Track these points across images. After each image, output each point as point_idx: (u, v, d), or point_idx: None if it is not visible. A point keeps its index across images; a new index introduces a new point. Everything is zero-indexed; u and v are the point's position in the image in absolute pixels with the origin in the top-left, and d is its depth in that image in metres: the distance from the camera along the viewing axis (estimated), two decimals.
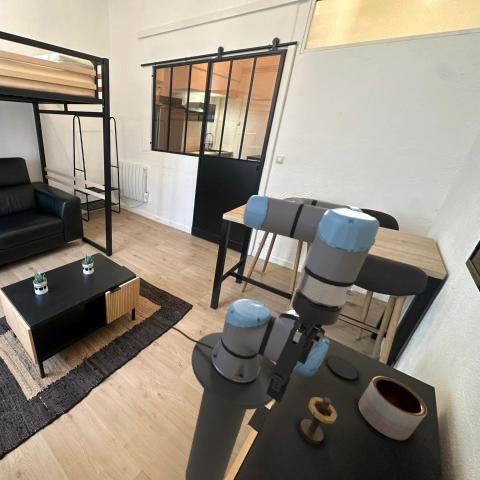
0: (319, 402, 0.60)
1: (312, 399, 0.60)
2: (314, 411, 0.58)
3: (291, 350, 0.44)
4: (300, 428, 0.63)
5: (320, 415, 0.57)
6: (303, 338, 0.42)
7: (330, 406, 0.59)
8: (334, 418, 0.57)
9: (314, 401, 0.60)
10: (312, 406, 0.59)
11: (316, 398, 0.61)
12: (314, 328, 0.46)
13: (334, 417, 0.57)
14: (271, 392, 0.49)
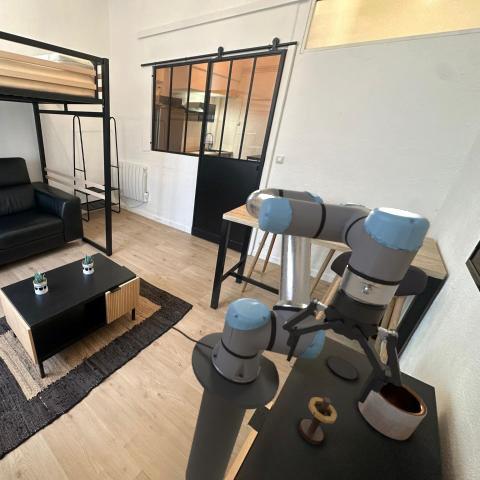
0: (319, 402, 0.60)
1: (312, 399, 0.60)
2: (314, 411, 0.58)
3: (303, 310, 0.53)
4: (300, 428, 0.63)
5: (320, 415, 0.57)
6: None
7: (330, 406, 0.59)
8: (334, 418, 0.57)
9: (314, 401, 0.60)
10: (312, 406, 0.59)
11: (316, 398, 0.61)
12: (339, 319, 0.48)
13: (334, 417, 0.57)
14: None
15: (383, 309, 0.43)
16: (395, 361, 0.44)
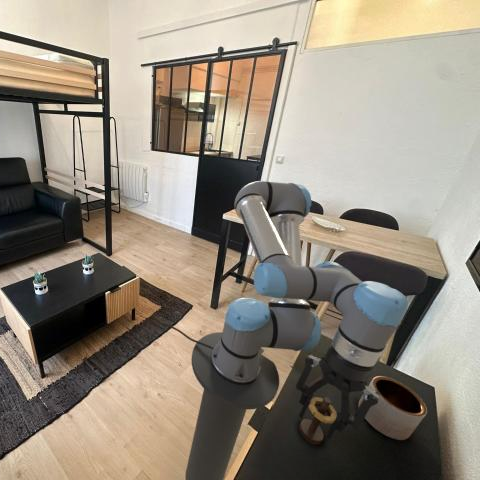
0: (319, 402, 0.60)
1: (312, 399, 0.60)
2: (314, 411, 0.58)
3: None
4: (300, 428, 0.63)
5: (320, 415, 0.57)
6: None
7: (330, 406, 0.59)
8: (334, 418, 0.57)
9: (314, 401, 0.60)
10: (312, 406, 0.59)
11: (316, 398, 0.61)
12: (331, 372, 0.54)
13: (334, 417, 0.57)
14: None
15: (368, 370, 0.49)
16: (364, 414, 0.51)
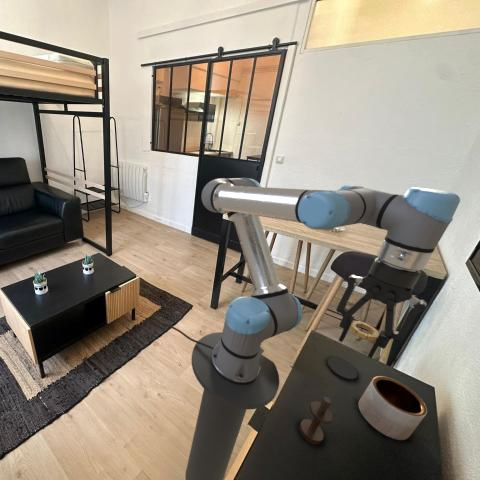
0: (360, 325, 0.61)
1: (353, 322, 0.62)
2: (356, 330, 0.59)
3: None
4: (300, 428, 0.63)
5: (362, 333, 0.58)
6: (348, 278, 0.59)
7: (371, 327, 0.60)
8: (377, 336, 0.58)
9: (355, 323, 0.61)
10: (354, 326, 0.60)
11: (357, 321, 0.62)
12: (376, 285, 0.55)
13: (377, 335, 0.58)
14: None
15: (416, 275, 0.50)
16: (410, 323, 0.52)
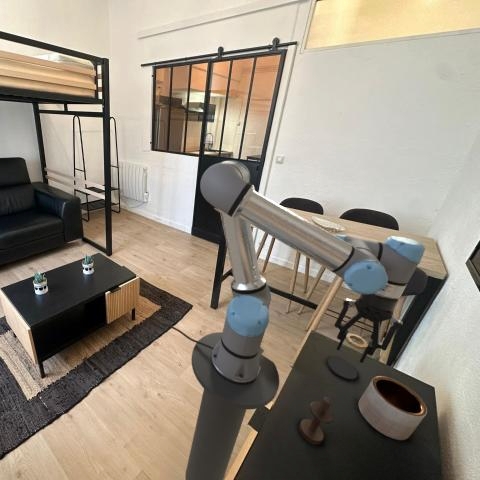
0: (353, 336, 0.78)
1: (347, 334, 0.78)
2: (350, 341, 0.75)
3: (342, 309, 0.77)
4: (300, 428, 0.63)
5: (355, 344, 0.75)
6: (343, 301, 0.75)
7: (361, 338, 0.77)
8: (366, 345, 0.74)
9: (349, 335, 0.78)
10: (348, 338, 0.76)
11: (350, 334, 0.78)
12: (365, 308, 0.72)
13: (366, 345, 0.74)
14: None
15: (395, 301, 0.66)
16: (391, 337, 0.69)
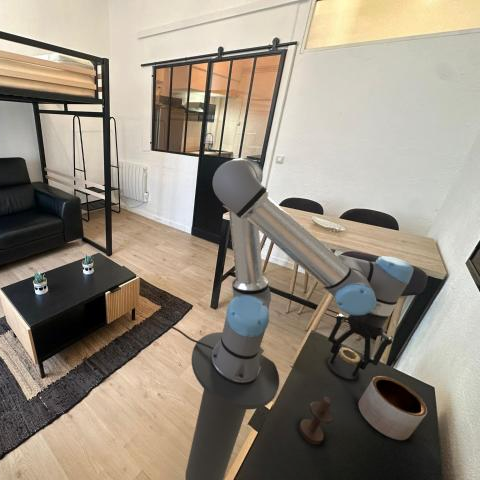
0: (346, 350, 0.80)
1: (340, 348, 0.80)
2: (343, 356, 0.78)
3: (335, 324, 0.79)
4: (300, 428, 0.63)
5: (348, 358, 0.77)
6: None
7: (354, 353, 0.79)
8: (358, 360, 0.77)
9: (342, 350, 0.80)
10: (341, 352, 0.79)
11: (343, 348, 0.81)
12: (357, 324, 0.74)
13: (358, 359, 0.77)
14: None
15: (385, 319, 0.68)
16: (381, 352, 0.71)
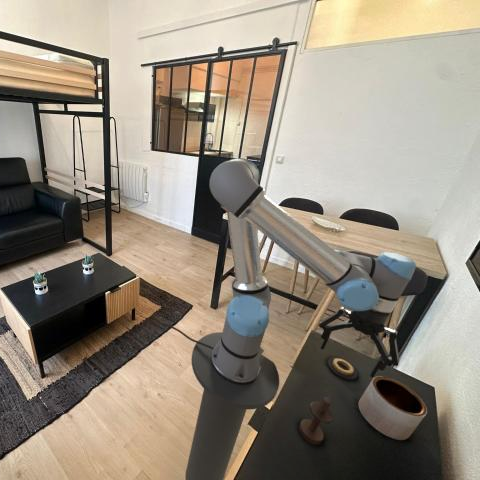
0: (340, 361, 0.82)
1: (335, 359, 0.82)
2: (337, 367, 0.80)
3: (333, 314, 0.79)
4: (300, 428, 0.63)
5: (341, 369, 0.79)
6: (339, 309, 0.77)
7: (348, 364, 0.81)
8: (352, 371, 0.79)
9: (336, 360, 0.82)
10: (335, 364, 0.81)
11: (338, 359, 0.83)
12: (358, 320, 0.73)
13: (352, 370, 0.79)
14: None
15: (387, 315, 0.68)
16: (394, 349, 0.69)
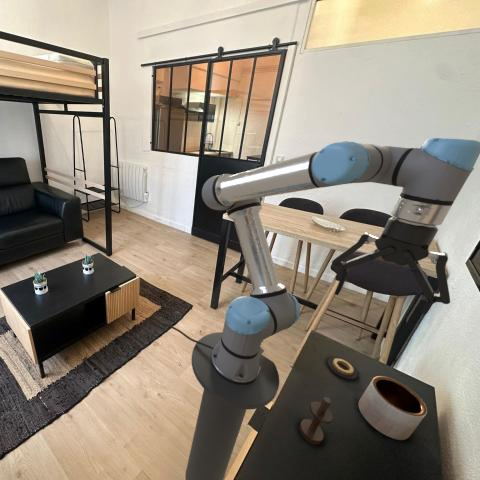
0: (340, 361, 0.82)
1: (335, 359, 0.82)
2: (337, 367, 0.80)
3: None
4: (300, 428, 0.63)
5: (341, 369, 0.79)
6: (362, 235, 0.56)
7: (348, 364, 0.81)
8: (352, 371, 0.79)
9: (336, 360, 0.82)
10: (335, 364, 0.81)
11: (338, 359, 0.83)
12: (390, 246, 0.53)
13: (352, 370, 0.79)
14: None
15: (434, 230, 0.48)
16: (444, 280, 0.49)
